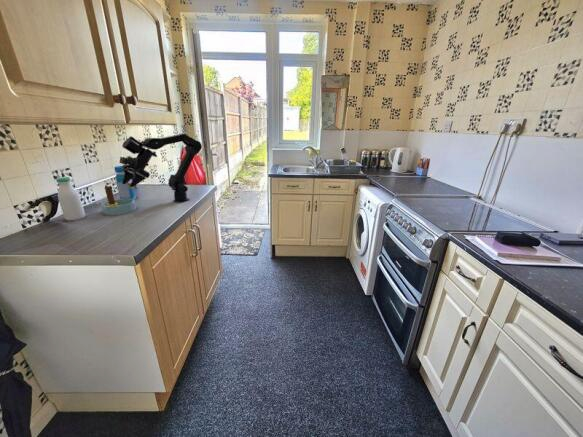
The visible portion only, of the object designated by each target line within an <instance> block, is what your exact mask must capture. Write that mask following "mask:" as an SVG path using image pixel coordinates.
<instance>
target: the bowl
mask: <svg viewBox="0 0 583 437" xmlns="http://www.w3.org/2000/svg"><path fill="white" fill-rule="evenodd" d="M114 200H115V203H117V204H118V206H107V204H109V203H108V200H107V201H104V202H102V203H101V204H100V207H101V210H102V214H103V215H106V216H119V215H124V214H130V213H132V212H134V211H136V210H137V205H136V204H137V203H136V199H120V198H117V199H116V198H115V199H114Z"/></svg>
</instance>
